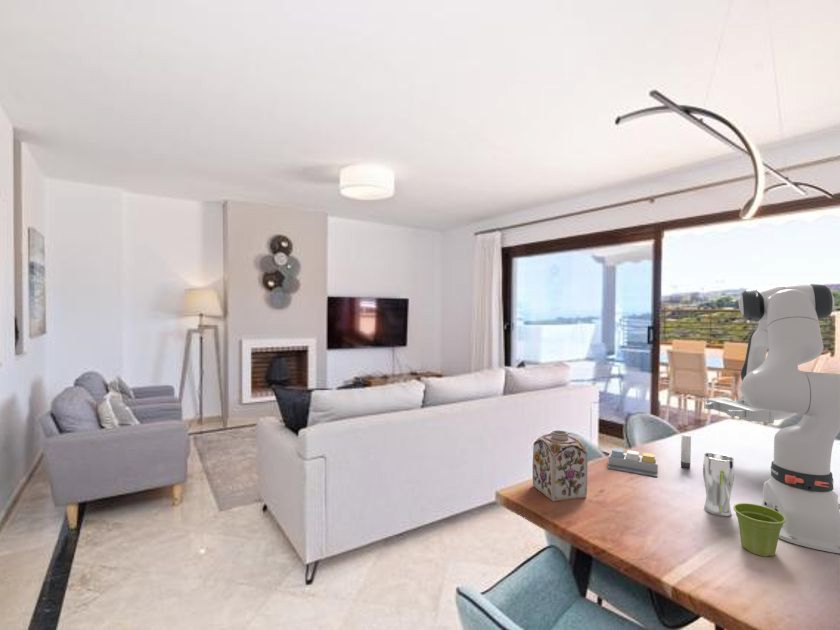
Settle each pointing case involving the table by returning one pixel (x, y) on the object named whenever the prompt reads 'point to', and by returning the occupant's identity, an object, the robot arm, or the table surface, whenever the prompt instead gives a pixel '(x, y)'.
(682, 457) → the white rounded cylinder
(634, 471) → the keypad
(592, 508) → the table surface
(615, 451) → the key slate
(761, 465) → the table surface
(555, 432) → the decorative jar
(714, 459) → the beer glass
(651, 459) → the key amber
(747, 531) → the plant pot
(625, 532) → the table surface
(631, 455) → the key white
